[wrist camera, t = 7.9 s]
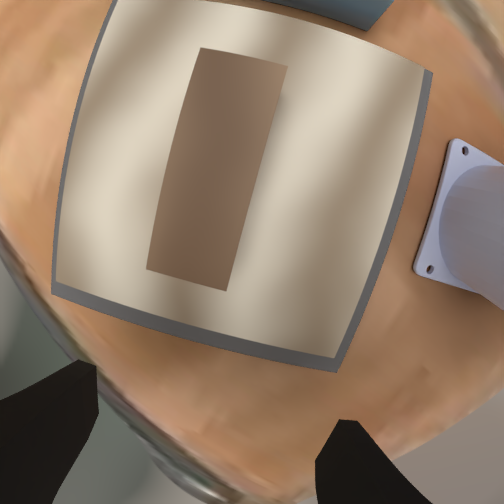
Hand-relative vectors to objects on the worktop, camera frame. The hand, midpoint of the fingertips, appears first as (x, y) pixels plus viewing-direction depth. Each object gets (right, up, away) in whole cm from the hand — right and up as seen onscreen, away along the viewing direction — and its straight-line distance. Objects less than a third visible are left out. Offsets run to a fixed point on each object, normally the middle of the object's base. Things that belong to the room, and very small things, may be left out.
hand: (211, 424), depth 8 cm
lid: (0, +9, +7) cm, 11 cm away
